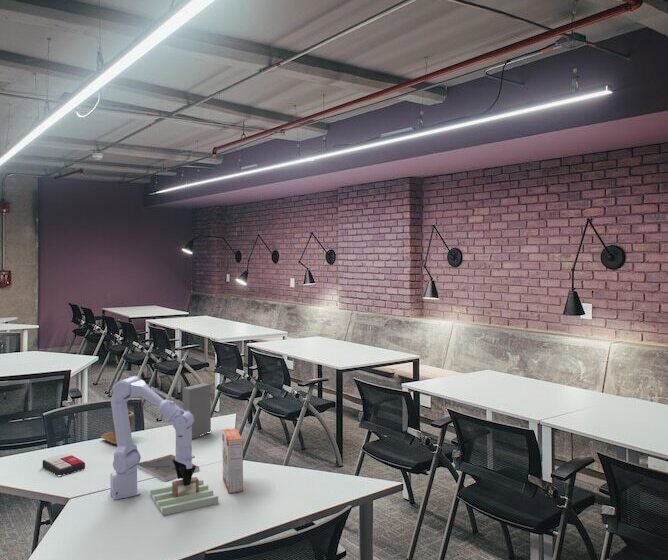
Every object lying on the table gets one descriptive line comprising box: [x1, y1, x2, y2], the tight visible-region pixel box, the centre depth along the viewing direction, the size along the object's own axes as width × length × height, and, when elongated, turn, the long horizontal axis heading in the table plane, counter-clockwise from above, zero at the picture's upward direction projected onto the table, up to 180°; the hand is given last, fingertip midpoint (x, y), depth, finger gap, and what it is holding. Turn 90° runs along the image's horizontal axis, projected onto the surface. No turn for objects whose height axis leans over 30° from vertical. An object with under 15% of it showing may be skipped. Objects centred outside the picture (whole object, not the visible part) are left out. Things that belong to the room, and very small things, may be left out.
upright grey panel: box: [182, 382, 212, 439], centre depth 288 cm, size 14×6×25 cm, turn 145°
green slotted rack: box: [149, 479, 219, 516], centre depth 214 cm, size 20×18×2 cm
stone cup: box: [100, 410, 135, 445], centre depth 279 cm, size 15×12×15 cm
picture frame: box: [137, 454, 200, 482], centre depth 244 cm, size 16×2×22 cm
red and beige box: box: [42, 452, 86, 476], centre depth 244 cm, size 11×4×15 cm
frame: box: [171, 476, 200, 498], centre depth 214 cm, size 9×3×6 cm, turn 121°
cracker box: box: [221, 428, 244, 494], centre depth 226 cm, size 14×6×21 cm, turn 20°
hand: (183, 481), depth 213 cm, fingers open, 7 cm apart
